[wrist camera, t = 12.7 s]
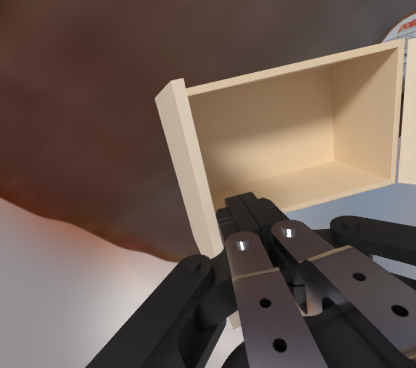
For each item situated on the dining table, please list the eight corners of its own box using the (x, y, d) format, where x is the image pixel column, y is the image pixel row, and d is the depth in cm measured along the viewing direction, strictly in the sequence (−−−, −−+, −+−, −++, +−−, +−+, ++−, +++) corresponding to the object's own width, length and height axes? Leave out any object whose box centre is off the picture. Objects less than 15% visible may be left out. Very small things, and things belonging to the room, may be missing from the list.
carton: (332, 59, 30) (405, 37, 20) (335, 162, 34) (395, 183, 25) (165, 98, 28) (160, 94, 19) (192, 199, 33) (199, 236, 24)
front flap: (183, 78, 9) (170, 81, 9) (241, 325, 14) (233, 329, 13) (160, 96, 19) (154, 98, 19) (198, 236, 24) (194, 237, 23)
